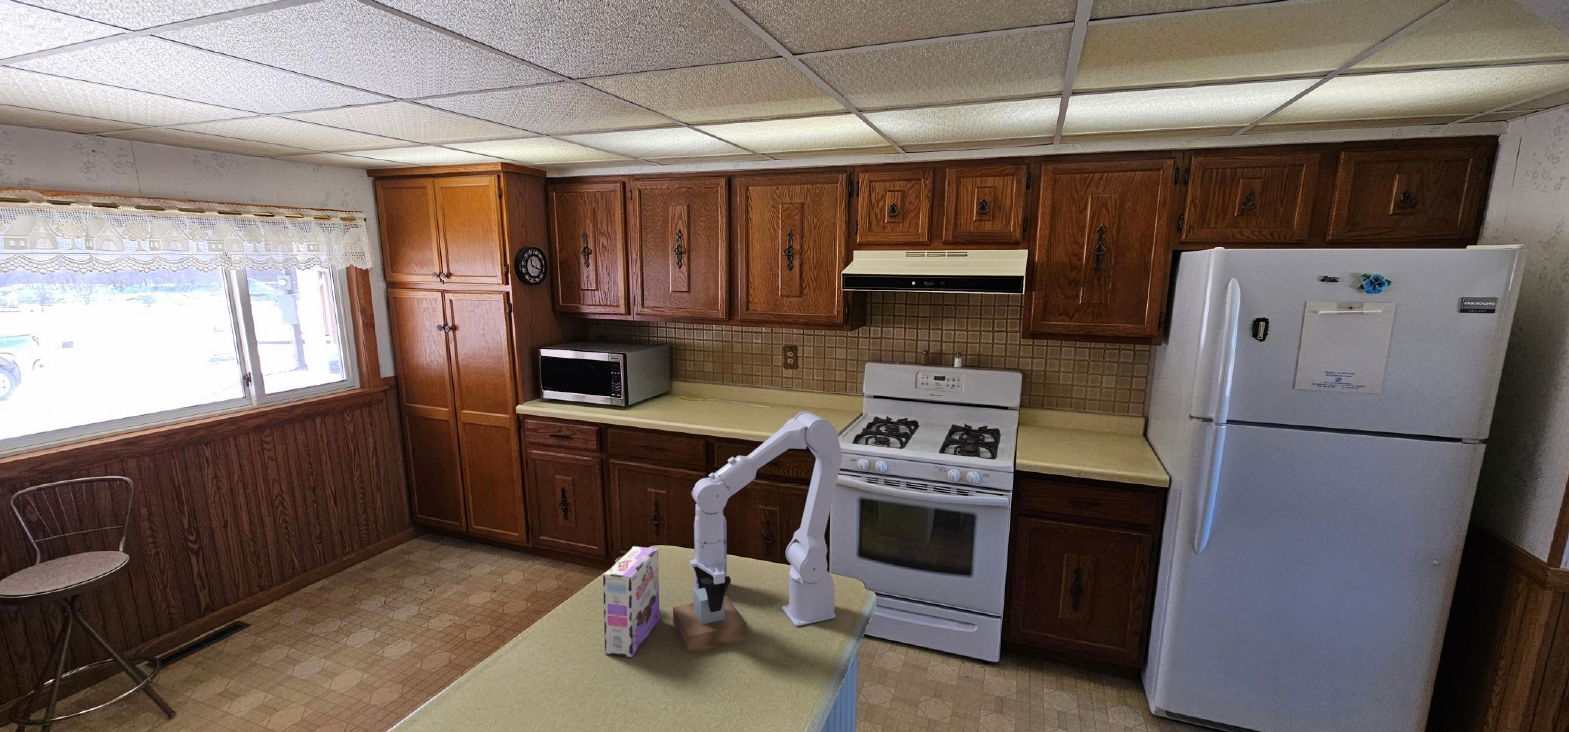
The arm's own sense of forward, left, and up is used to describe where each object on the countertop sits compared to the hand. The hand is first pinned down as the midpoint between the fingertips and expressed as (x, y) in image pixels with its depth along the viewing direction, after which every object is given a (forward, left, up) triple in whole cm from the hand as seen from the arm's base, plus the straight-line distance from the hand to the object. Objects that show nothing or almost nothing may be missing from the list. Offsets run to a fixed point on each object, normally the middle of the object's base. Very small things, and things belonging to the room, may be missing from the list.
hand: (710, 601), depth 126 cm
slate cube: (0, 0, -3) cm, 3 cm away
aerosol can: (-5, -18, -7) cm, 20 cm away
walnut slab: (0, 0, -7) cm, 7 cm away
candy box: (+15, -4, -7) cm, 17 cm away
